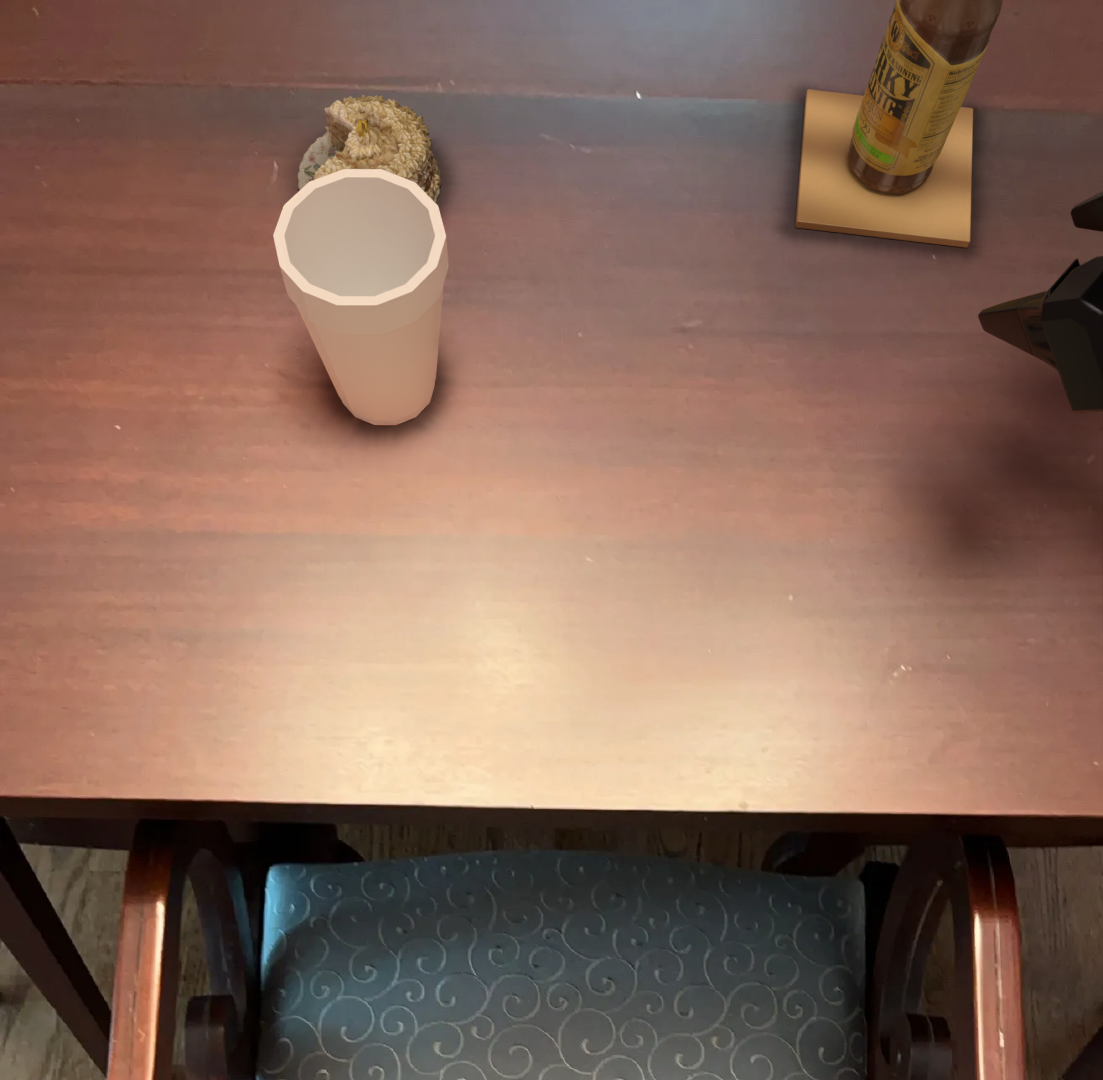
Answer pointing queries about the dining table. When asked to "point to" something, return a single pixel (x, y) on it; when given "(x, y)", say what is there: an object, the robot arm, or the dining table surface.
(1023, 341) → the robot arm
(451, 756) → the dining table surface
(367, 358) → the foam cup
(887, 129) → the sauce bottle
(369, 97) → the cake
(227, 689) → the dining table surface
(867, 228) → the cork mat
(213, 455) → the dining table surface
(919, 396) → the dining table surface
